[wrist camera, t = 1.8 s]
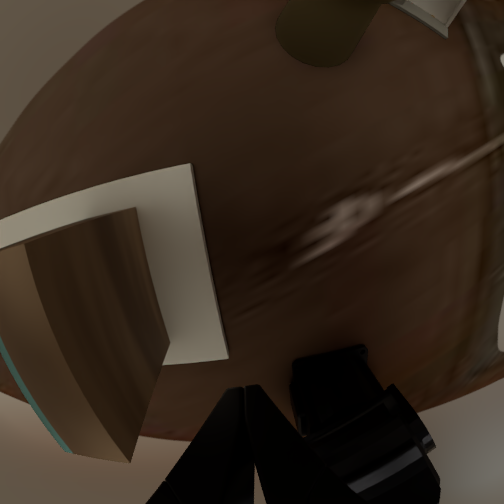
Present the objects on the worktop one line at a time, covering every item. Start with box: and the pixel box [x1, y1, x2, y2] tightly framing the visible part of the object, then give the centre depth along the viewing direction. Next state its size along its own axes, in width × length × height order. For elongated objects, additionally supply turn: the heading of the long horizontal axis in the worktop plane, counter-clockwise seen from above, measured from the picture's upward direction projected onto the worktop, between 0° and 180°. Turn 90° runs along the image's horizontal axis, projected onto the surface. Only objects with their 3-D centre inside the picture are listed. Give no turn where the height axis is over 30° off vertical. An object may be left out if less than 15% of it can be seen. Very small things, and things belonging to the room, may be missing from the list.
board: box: [0, 163, 229, 365], centre depth 19 cm, size 22×14×1 cm, turn 99°
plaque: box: [0, 207, 170, 463], centre depth 13 cm, size 4×10×11 cm, turn 9°
